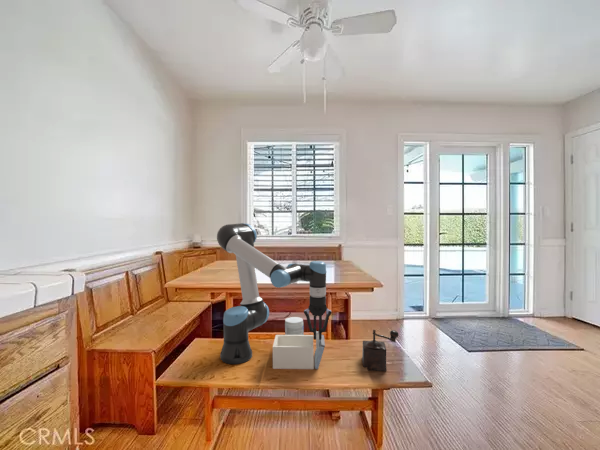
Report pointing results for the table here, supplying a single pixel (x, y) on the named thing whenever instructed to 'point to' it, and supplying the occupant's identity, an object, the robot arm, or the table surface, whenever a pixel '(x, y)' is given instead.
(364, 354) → the dark brown coffee grinder
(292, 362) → the box
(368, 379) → the table surface
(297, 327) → the supplement tub
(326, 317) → the robot arm
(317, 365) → the light blue panel
